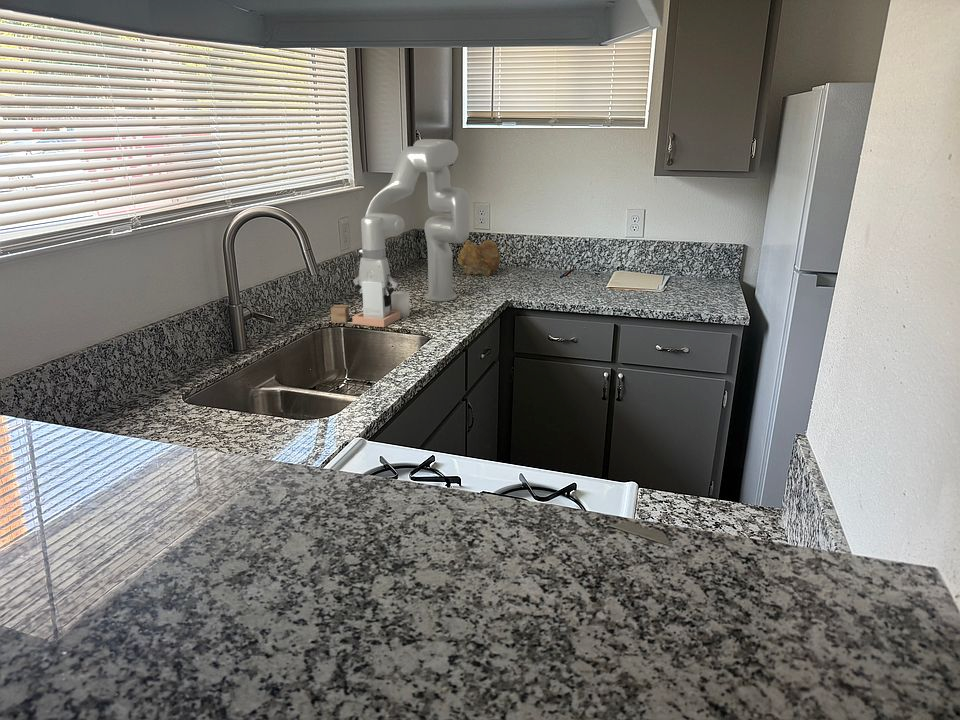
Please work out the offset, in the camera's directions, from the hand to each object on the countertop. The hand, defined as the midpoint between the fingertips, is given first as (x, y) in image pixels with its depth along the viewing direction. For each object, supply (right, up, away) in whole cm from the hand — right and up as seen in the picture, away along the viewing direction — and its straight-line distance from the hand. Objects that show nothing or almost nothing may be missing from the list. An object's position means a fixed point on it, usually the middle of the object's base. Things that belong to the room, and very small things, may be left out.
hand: (376, 304), depth 239 cm
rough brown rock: (+37, +20, +80) cm, 90 cm away
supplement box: (0, -4, +1) cm, 4 cm away
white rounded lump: (+7, -3, +10) cm, 13 cm away
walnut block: (-13, -5, +2) cm, 14 cm away
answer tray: (0, -6, +2) cm, 6 cm away
